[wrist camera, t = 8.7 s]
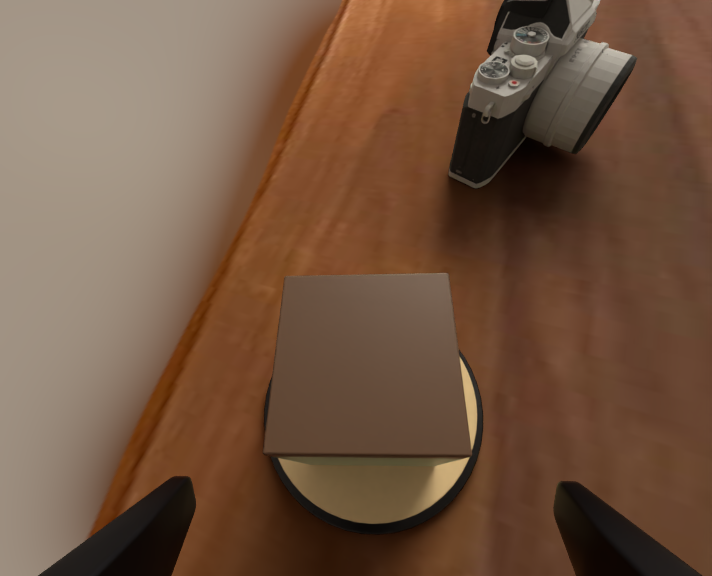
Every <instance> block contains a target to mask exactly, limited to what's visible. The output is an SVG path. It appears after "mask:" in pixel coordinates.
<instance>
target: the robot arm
mask: <svg viewBox="0 0 712 576" xmlns="http://www.w3.org/2000/svg"><path fill="white" fill-rule="evenodd" d="M195 508H196V499H195V495H194V490H193V485H192V481H191V478H190V477H188V476H174V477H172V478H170V479H169V480H167V481H166V482H165V483H163V484H162V485H161V486H159V487H158V488H156V489H155V490H154V491H152V492H151V493H150V494H148V495H147V496H146V497H144V498H143V499H142V500H140V501H139V502H137V503H136V504H135V505H133V506H132V507H131V508H129V509H128V510H127V511H125V512H124V513H123V514H121V515H120V516H118V517H117V518H116V519H114V520H113V521H112V522H110V523H109V524H108V525H106V526H105V527H104V528H102V529H101V530H99V531H98V532H97V533H95V534H94V535H93V536H91V537H90V538H89V539H87V540H86V541H85V542H83V543H82V544H80V545H79V546H78V547H77V548H75V549H74V550H72V551H71V552H70V553H68V554H67V555H66V556H64V557H63V558H62V559H60V560H59V561H57V562H56V563H55V564H53V565H52V566H51V567H50V568H48V569H47V570H45V571H44V572H42V573H41V574H40V575H38V576H171V575H172V572H173V570H174V567H175V564H176V562H177V559H178V556H179V553H180V551H181V548H182V545H183V543H184V540H185V537H186V534H187V532H188V529H189V526H190V523H191V521H192V518H193V515H194V512H195ZM554 516H555V520H556V523H557V525H558V528H559V531H560V533H561V536H562V539H563V542H564V544H565V547H566V550H567V552H568V555H569V558H570V560H571V563H572V566H573V568H574V571H575V574H576V576H702V575H701V574H699V573H698V572H697V571H696V570H694V569H693V568H692V567H690V566H689V565H688V564H686V563H685V562H684V561H682V560H681V559H680V558H678V557H677V556H676V555H674V554H673V553H672V552H670V551H669V550H668V549H666V548H665V547H664V546H662V545H661V544H660V543H658V542H657V541H656V540H654V539H653V538H652V537H650V536H649V535H648V534H646V533H645V532H644V531H642V530H641V529H640V528H638V527H637V526H636V525H634V524H633V523H632V522H630V521H629V520H628V519H626V518H625V517H624V516H623V515H621V514H620V513H619V512H617V511H616V510H615V509H613V508H612V507H611V506H609V505H608V504H607V503H605V502H604V501H603V500H601V499H600V498H599V497H597V496H596V495H595V494H593V493H592V492H591V491H589V490H588V489H587V488H585V487H584V486H583V485H581V484H580V483H578V482H575V481H560V482H559V483H558V484H557V488H556V495H555V501H554Z"/></svg>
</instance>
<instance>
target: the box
mask: <svg viewBox="0 0 712 576" xmlns="http://www.w3.org/2000/svg"><path fill="white" fill-rule="evenodd" d="M476 430H477V406H476V398H475V393H474V388H473V385H472V382H471V379H470V376H469V373H468V371H467V369H466V367H465V365H464V363H463V361H462V360H461V358H460V356H459V348H458V341H457V333H456V325H455V317H454V310H453V302H452V294H451V287H450V279H449V274H448V273H418V274H368V275H318V276H285V278H284V286H283V294H282V302H281V310H280V318H279V326H278V334H277V342H276V350H275V358H274V366H273V374H272V382H271V390H270V398H269V406H268V414H267V422H266V430H265V438H264V446H263V454H264V455H267V456H272V457H276V458H278V459H279V462H280V464H281V466H282V468H283V470H284V471H285V473H286V474H287V476H288V477H289V479H290V480H291V482H292V483H293V484H294V485H295V487H296V488H297V489H298V490H299V491H300V492H301V493H302V494H303V495H304V496H305V497H306V498H307V499H309V500H310V501H311V502H312V503H313V504H315V505H316V506H318V507H319V508H321V509H323V510H324V511H326V512H328V513H330V514H332V515H335V516H337V517H339V518H342V519H346V520H349V521H353V522H358V523H368V524H379V523H390V522H395V521H399V520H404V519H406V518H409V517H411V516H414V515H416V514H419V513H420V512H422V511H424V510H425V509H427V508H429V507H431V506H432V505H433V504H435V503H436V502H437V501H438V500H439V499H441V498H442V497H443V496H444V495H445V494H446V493H447V492H448V491H449V490H450V489H451V488H452V486H453V485H454V484H455V483H456V481H457V480H458V478H459V477H460V475H461V474H462V472H463V470H464V468H465V466H466V464H467V462H468V460H469V457H471V456H472V448H473V445H474V441H475V435H476Z"/></svg>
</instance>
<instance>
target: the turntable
mask: <svg viewBox="0 0 712 576" xmlns="http://www.w3.org/2000/svg"><path fill="white" fill-rule="evenodd" d="M459 356H460V358H461V360H462V361H463V363H464V365H465V367H466V369H467V371H468V373H469V376H470V379H471V382H472V385H473V388H474V393H475V398H476V406H477V430H476V435H475V441H474V445H473V448H472V456H471V457H469V460H468V462H467V464H466V466H465V468H464V470H463V472H462V474H461V475H460V477H459V478H458V480H457V481H456V483H455V484H454V485H453V486H452V488H451V489H450V490H449V491H448V492H447V493H446V494H445V495H444V496H443V497H442V498H441V499H439V500H438V501H437V502H436V503H435V504H433V505H432V506H431V507H429V508H427V509H425V510H424V511H422V512H420V513H419V514H416V515H414V516H411V517H409V518H406V519H404V520H399V521H395V522H390V523H379V524H368V523H358V522H353V521H349V520H346V519H342V518H339V517H337V516H335V515H332V514H330V513H328V512H326V511H324V510H323V509H321V508H319V507H318V506H316V505H315V504H313V503H312V502H311V501H310V500H309V499H307V498H306V497H305V496H304V495H303V494H302V493H301V492H300V491H299V490H298V489H297V488H296V487H295V485H294V484H293V483H292V482H291V480H290V479H289V477H288V476H287V474H286V473H285V471H284V470H283V468H282V466H281V464H280V462H279V459H278V458H276V457H272V456H270V457H271V460H272V462H273V465H274V468H275V470H276V472H277V473H278V475H279V477H280V479H281V481H282V483H283V484H284V485H285V487H286V488H287V489H288V491H289V492H290V493H291V495H292V496H293V497H294V498H295V499H296V500H297V501H298V502H299V503H300V504H301V505H302V506H303V507H304V508H305V509H306V510H308V511H309V512H310V513H312V514H313V515H314V516H316V517H317V518H319V519H321V520H323V521H324V522H326V523H328V524H330V525H332V526H335V527H338V528H340V529H343V530H346V531H350V532H355V533H360V534H376V535H380V534H388V533H396V532H400V531H403V530H407V529H410V528H413V527H415V526H417V525H419V524H421V523H424V522H426V521H427V520H429V519H430V518H432V517H433V516H435V515H436V514H438V513H439V512H441V511H442V510H443V509H444V508H445V507H446V506H447V505H448V504H450V503H451V502H452V501H453V499H454V498H455V497H456V496H457V495H458V493H459V492H460V491H461V490H462V488H463V487H464V485H465V483H466V482H467V480H468V478H469V477H470V475H471V473H472V470H473V468H474V466H475V463H476V461H477V458H478V454H479V450H480V446H481V441H482V433H483V410H482V402H481V396H480V393H479V389H478V385H477V382H476V380H475V377H474V375H473V372H472V370H471V368H470V366H469V364H468V363H467V361H466V359H465V357H464V356H463V355H462V353H461V352H460V350H459ZM271 382H272V378H271V380H270V384H269V387H268V391H267V395H266V402H265V408H264V427H265V430H266V422H267V414H268V406H269V398H270V390H271Z"/></svg>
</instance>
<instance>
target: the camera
mask: <svg viewBox="0 0 712 576" xmlns="http://www.w3.org/2000/svg"><path fill="white" fill-rule="evenodd" d="M599 3H600V0H504V2H503V3H502V5H501V8H500V10H499V12H498V15H497V18H496V21H495V25H494V31H493V34H492V37H491V40H490V43H489V46H488V49H487V52H488V53H489V55H490V57H489V58H488V59H487V60H486V61H485V62H484V63H483V64H481V65H480V66H479V68H478V69H477V71H476V73H475V75H474V79H473V82H472V84H471V86H470V90H469V92H468V93H467V94H466V97H465V100H464V104H463V109H462V113H461V118H460V122H459V127H458V131H457V136H456V140H455V145H454V149H453V154H452V158H451V162H450V167H449V176H450V177H452V178H454V179H456V180H458V181H460V182H462V183H465V184H467V185H469V186H471V187H473V188H475V189H476V188H480V187H482V186H484V185H486V184H487V183H489V182H490V181H491V180H492V178H493V177H494V176H495V175H496V174H497V172H498V171H499V170H500V169H501V168H502V166H503V165H504V164H505V163H506V162H507V160H508V159H509V158H510V157H511V156H512V154H513V153H514V152H515V151H516V149H517V148H518V147H519V146H520V144H521V143H522V142H523V141H524V140H525V138H526V137H529V138H531V139H534V140H536V141H539V142H541V143H543V145H545V146H547V147H550V146H551V145H553V146H555V147H558V148H560V149H563V150H565V151H568V152H570V153H573V154H577V153H578V152H579V151H580V150H581V149H582V148H583V147H584V145H585V144H586V143H587V141H588V140H589V138H590V137H591V136H592V134H593V133H594V131H595V130H596V128H597V127H598V125H599V123H600V122H601V120H602V119H603V117H604V116H605V114H606V113H607V111H608V110H609V108H610V106H611V105H612V103H613V102H614V100H615V99H616V97H617V95H618V94H619V92H620V91H621V89H622V87H623V86H624V84H625V82H626V81H627V79H628V77H629V76H630V74H631V72H632V70H633V68H634V66H635V64H636V60H637V58H636V57H635V56H633V55H630V54H626V53H623V52H620V51H616V50H613V49H610V48H608V46H609V45H608V44H607V43H603V42H602V43H601V44H599V43H596V42H592V41H589V40H585V39H584V37H585V35H586V32H587V30H588V28H589V27H590V26H591V24H592V23H593V22H594V20H595V17H596V14H597V13H596V9H597V7H598V5H599Z"/></svg>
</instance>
